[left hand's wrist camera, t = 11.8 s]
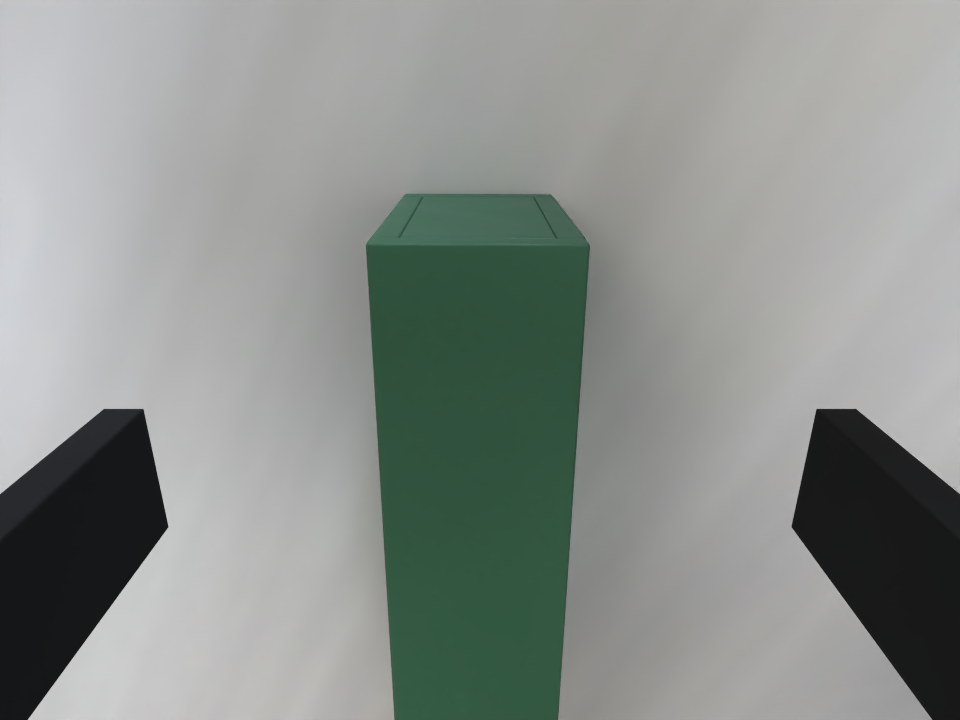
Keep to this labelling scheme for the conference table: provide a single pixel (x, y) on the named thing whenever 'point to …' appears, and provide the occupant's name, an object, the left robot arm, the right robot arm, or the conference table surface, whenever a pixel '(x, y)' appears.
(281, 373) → the conference table surface
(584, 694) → the conference table surface
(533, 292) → the cabinet
